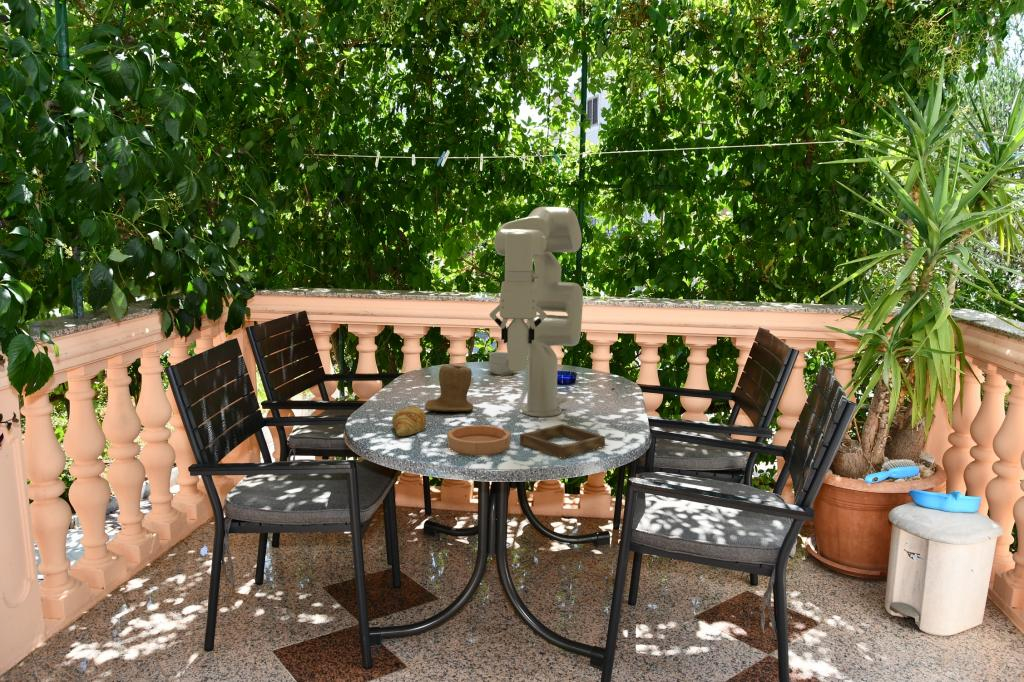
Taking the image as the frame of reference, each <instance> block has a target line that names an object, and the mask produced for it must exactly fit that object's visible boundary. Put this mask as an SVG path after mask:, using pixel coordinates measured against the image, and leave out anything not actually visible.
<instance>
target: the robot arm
mask: <svg viewBox="0 0 1024 682" xmlns="http://www.w3.org/2000/svg"><path fill="white" fill-rule="evenodd" d="M582 238H583V237H582V231H581V227H580V223H579V220H578V217H577V215H576V212H575V211H574V210H573V208H571V207H569V206H538V207H536V208H534V209H533V210H532V211H530V213H529V214H528V216H527V217H522V218H519V219H515V220H512V221H508V222H505V223H503V224H502V225H501V226H500V227H498V229H497V231H496V233H495V235H494V240H493V247H494V250H495V251H496V253H497V254H498V255H499V256H503V257H504V280H503V281H502V282H501V285H500V286H501V287H500V293H499V304H498V305H497V306H496V307H495V308H494V309H493V310H492V311H491V312H490V313H489V317H490V318H491V320H492V321H494V322H495V323H496V324H497V325H498V326H499V328H500V329H501V331H500V333H501V334H500V335H501V337H500V339H501V340H502V341H503V344H507V323H508V321H509V320H513V319H524V320H526V321H525V323H526V325H527V326H528V328H529V351H528V358H527V389H526V390H527V397H526V398H527V399H526V400H527V401H526V405H524V406H523V407H522V411H521V412H522V413H523V414H525V415H527V416H531V417H538V418H539V417H540V418H541V417H546V418H547V417H554V416H559V415H560V414H561V413H562V407H560V405H561V404H565V403H567V401H568V399H567V397H566V396H562V397H558V363H559V361H558V356H557V354H556V352H555V351H554V350H553V348H552V347H551V346H557V347H558V346H559V347H562V346H563V347H574V346H577V345H578V344H579V342H580V339H581V333H582V320H583V319H582V318H583V309H584V308H583V305H584V294H583V289H582V286H580V284H578V282H577V283H576V282H570V281H569V282H568V281H562V265H561V263H560V261H559V260H558V259H557V258H556V256H555V255H554V254H553V253H576V252H578V251H580V250H579V249H580V248H581V245H582V240H583V239H582ZM533 264H534V266H533ZM533 268H534V269H533ZM533 270H534V271H533ZM546 312H552V313H553V312H556V313H557V312H558V313H566V314H567V315H555V314H547V313H546ZM498 313H499V316H500V317H501V319H502V320H501V319H500V318H499V317H498V316H497V314H498ZM537 313H538V314H537Z"/></svg>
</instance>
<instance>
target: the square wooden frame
mask: <svg viewBox="0 0 1024 682" xmlns="http://www.w3.org/2000/svg"><path fill="white" fill-rule="evenodd" d="M561 435H563V436H561ZM558 436H559V437H565V436H567V437H566V438H568V437H570V438H569V439H571V438H573V439H572V440H574V439H576V440H575V442H572V443H568V444H564V445H561V444H558V443H556V442H552V441H549V440H551V439H555V438H559V437H558ZM554 437H555V438H554ZM550 438H551V439H550ZM547 439H548V440H547ZM578 440H580V441H578ZM519 445H520V446H523V447H526V448H529V449H532V450H535V451H538V452H542V453H544V454H547V455H550V456H553V457H556V456H557V458H559V457H561V458H560V459H562V458H564V457H567V458H569V457H568V456H571V457H573V456H572V455H574V456H576V455H575V454H578V455H580V454H579V453H581V454H583V453H582V452H585V453H587V452H586V451H588V452H590V451H589V450H592V451H594V450H593V449H595V450H598V449H597V448H599V447H602V448H604V447H603V446H605V447H606V436H604V435H601V434H597V433H595V432H591V431H587V430H584V429H581V428H577V427H574V426H570V425H568V424H564V423H561V424H557V425H553V426H549V427H544V428H542V429H541V428H540V429H536V430H533V431H528V432H524V433H521V434H520V435H519ZM599 449H600V448H599ZM564 459H565V458H564Z"/></svg>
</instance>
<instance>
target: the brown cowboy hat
mask: <svg viewBox="0 0 1024 682" xmlns="http://www.w3.org/2000/svg"><path fill="white" fill-rule="evenodd" d="M438 381H439V388H440V396H439V397H438V398H436V399H430V400H427V401H426V403H425V404H424V410H425V411H428V412H442V413H443V412H444V413H445V412H448V413H451V412H453V413H454V412H456V413H457V412H469V411H472V410H473V409H474V405H473V403H471V402H469V401H468V400H467V395H468V392H469V389H470V387H471V384H472V369H471V367H468V366H465V365H455V364H454V365H453V364H442V365H440V368H439V371H438Z"/></svg>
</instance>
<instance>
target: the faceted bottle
mask: <svg viewBox="0 0 1024 682" xmlns="http://www.w3.org/2000/svg"><path fill="white" fill-rule="evenodd" d="M506 328H507V342H506V351H507V353H508V362H509V369H510V370H512V371H514V372H524V371H526V370H527V367H528V351H529V328H528V326H527V325H526V321H525V319H511V321H510V323H509V324H508V326H506Z"/></svg>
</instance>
